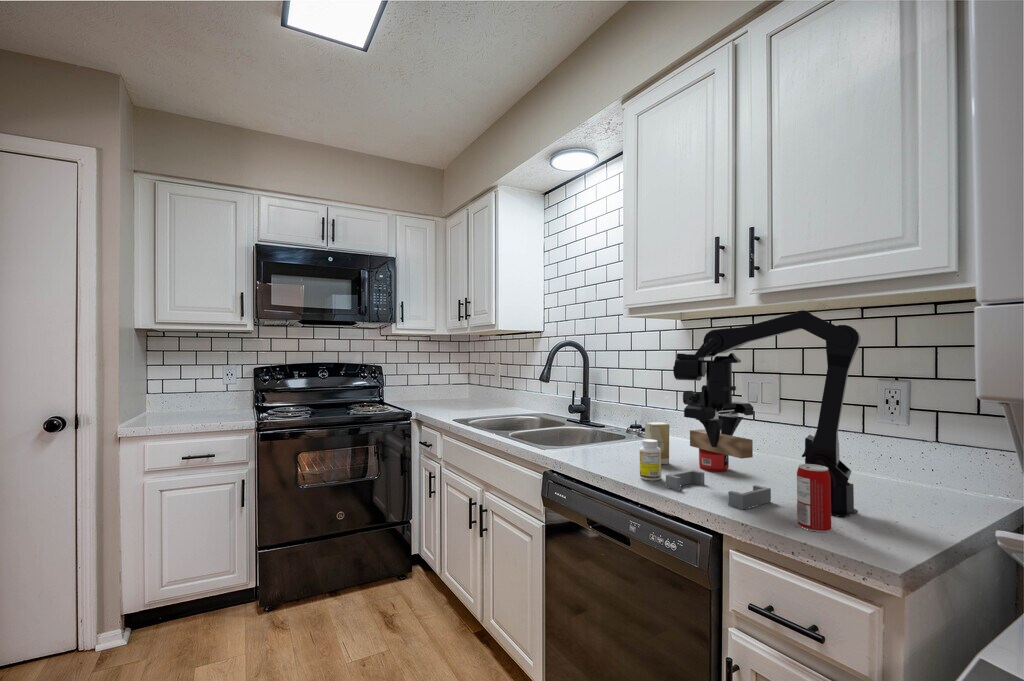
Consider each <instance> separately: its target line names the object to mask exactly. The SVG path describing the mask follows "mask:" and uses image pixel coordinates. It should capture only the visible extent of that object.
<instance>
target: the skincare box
mask: <svg viewBox="0 0 1024 681" xmlns="http://www.w3.org/2000/svg"><path fill="white" fill-rule="evenodd" d="M644 439H653V440H657V441H658V447H659V448H660V449H661V465H669V464H670V423H666V422H662V421H661V422H659V421H657V422H656V421H655V422H652V421H651V422H645V423H644Z"/></svg>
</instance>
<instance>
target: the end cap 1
mask: <svg viewBox="0 0 1024 681" xmlns="http://www.w3.org/2000/svg"><path fill="white" fill-rule="evenodd" d="M689 483H690V484H696V483H697V484H696V485H700V484H701V485H700V486H703V485H702V484H704V485H705V472H703V471H699V470H695V469H691V470H686V471H685V470H684V471H680V472H675V473H671V474H665V488H667V487H669V488H668V489H671V488H672V490H675V491H680V490H681V486H685V485H684V484H686V485H690V484H689ZM680 485H681V486H680Z"/></svg>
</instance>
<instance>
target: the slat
mask: <svg viewBox="0 0 1024 681" xmlns="http://www.w3.org/2000/svg"><path fill="white" fill-rule="evenodd" d="M689 446H690V447H693V448H696V449H699V448H700V449H704V450H708V451H712V452H716V453H720V454H725V455H729V457H733V458H738V459H751V458H753V457H754V456H753V451H754V450H753V449H754V447H753V439H750V438H745V437H740V436H734V435H732V436H731V435H726V434H721V433H720V435H719V440H718V443H717V446H716V447H712V446H711V443H710V441H709V438H708V435H707V432H706V431H705V430H701V429H690V430H689Z"/></svg>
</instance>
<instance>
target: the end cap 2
mask: <svg viewBox="0 0 1024 681" xmlns="http://www.w3.org/2000/svg"><path fill="white" fill-rule="evenodd" d="M771 491H772V490H771V487H765V486H763V485H758V484H753V485H752V490H750V491H747V492H744V493H743V492H737V491H733V490H730V491H728V492H727V496H728V498H727V499H728V506H729V505H730V507H733V506H734V507H733V508H736V507H737V509H740V510H746V508H747V509H749V507H750V508H754V507H757V506H756V505H758V506H761V505H764V503H765V504H768V503H771V502H772V496H771V495H772V494H771V493H772V492H771ZM770 501H771V502H770ZM767 502H768V503H767ZM760 504H761V505H760ZM753 506H754V507H753Z"/></svg>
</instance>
